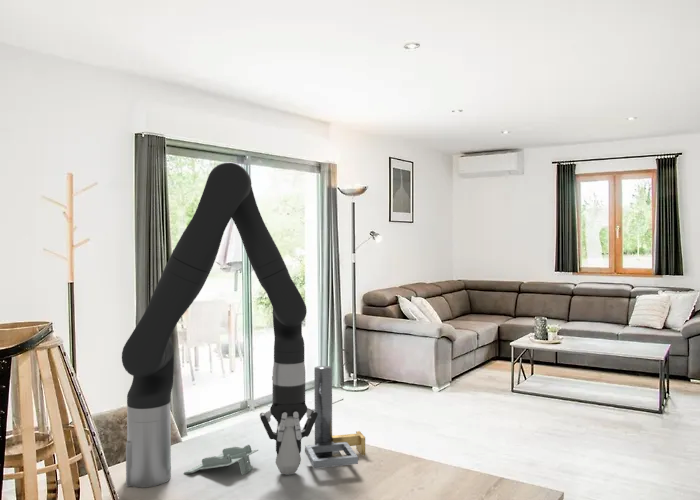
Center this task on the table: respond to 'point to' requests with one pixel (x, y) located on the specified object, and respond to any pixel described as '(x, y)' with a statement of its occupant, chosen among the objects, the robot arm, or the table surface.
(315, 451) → the square post stand
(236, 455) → the metal bracket
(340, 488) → the table surface
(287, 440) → the salt shaker
